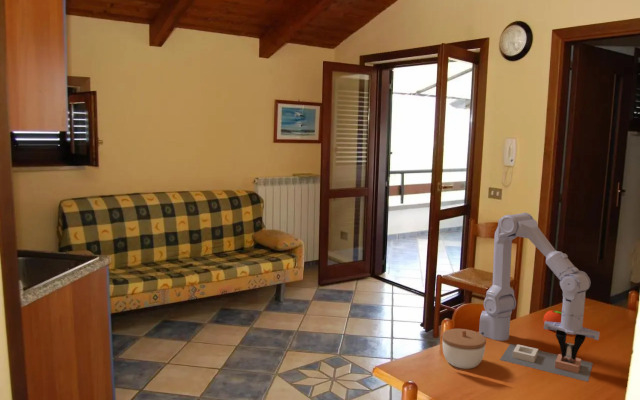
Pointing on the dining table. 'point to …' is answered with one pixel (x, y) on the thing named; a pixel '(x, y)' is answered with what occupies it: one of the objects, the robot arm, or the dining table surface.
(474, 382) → the dining table surface
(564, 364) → the socket
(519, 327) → the dining table surface
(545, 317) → the clementine
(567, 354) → the lock pin
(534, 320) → the dining table surface
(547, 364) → the board
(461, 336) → the lidded bowl
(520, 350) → the pin mount
